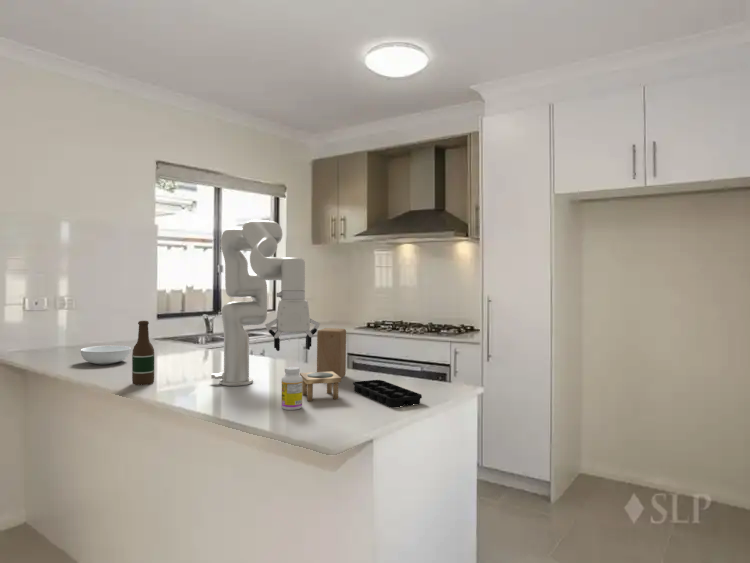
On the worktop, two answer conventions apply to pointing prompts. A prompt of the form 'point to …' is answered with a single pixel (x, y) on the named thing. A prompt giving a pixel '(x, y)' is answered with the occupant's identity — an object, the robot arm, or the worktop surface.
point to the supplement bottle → (292, 389)
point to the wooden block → (331, 351)
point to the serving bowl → (105, 354)
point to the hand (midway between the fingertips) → (292, 349)
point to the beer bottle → (143, 357)
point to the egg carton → (387, 393)
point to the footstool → (320, 378)
